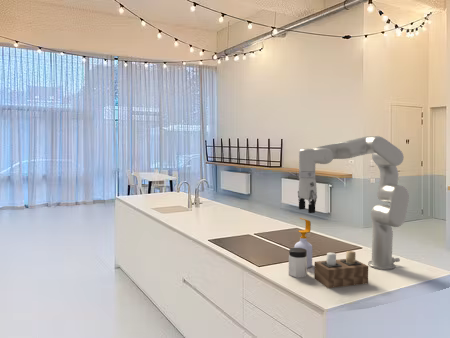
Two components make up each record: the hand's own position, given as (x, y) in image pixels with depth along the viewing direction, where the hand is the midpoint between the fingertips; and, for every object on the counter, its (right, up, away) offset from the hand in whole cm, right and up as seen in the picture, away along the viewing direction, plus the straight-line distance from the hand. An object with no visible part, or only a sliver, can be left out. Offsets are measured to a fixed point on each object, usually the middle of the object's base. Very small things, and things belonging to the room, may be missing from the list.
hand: (306, 211), depth 178 cm
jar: (-4, -31, +2) cm, 31 cm away
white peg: (+9, -26, -8) cm, 29 cm away
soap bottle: (+2, -30, +16) cm, 34 cm away
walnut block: (+14, -31, -7) cm, 35 cm away
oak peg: (+19, -26, -6) cm, 33 cm away
